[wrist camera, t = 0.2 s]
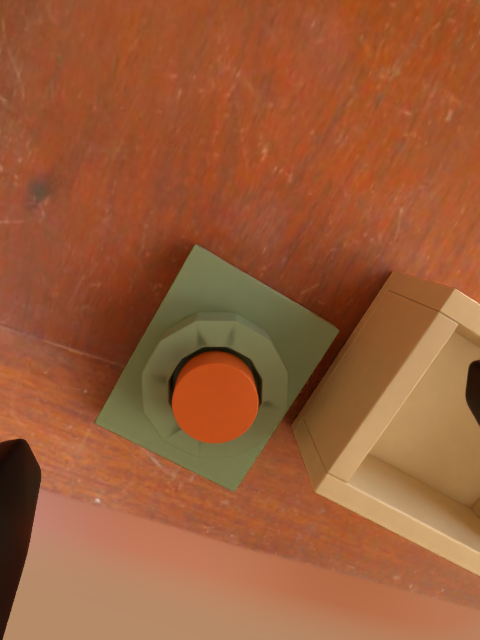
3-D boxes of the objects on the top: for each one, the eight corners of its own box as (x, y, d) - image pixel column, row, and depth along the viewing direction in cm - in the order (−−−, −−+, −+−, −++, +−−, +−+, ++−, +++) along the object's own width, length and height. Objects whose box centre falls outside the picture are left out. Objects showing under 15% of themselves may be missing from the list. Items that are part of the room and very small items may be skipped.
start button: (229, 437, 20) (230, 457, 19) (161, 402, 20) (155, 419, 18) (270, 374, 20) (275, 388, 18) (200, 335, 19) (198, 347, 17)
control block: (233, 479, 24) (236, 516, 21) (99, 412, 22) (82, 441, 20) (333, 324, 22) (351, 341, 19) (195, 243, 21) (191, 247, 18)
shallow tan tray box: (465, 519, 25) (537, 607, 19) (290, 425, 23) (313, 492, 17) (572, 382, 23) (685, 434, 18) (392, 270, 22) (454, 288, 16)
